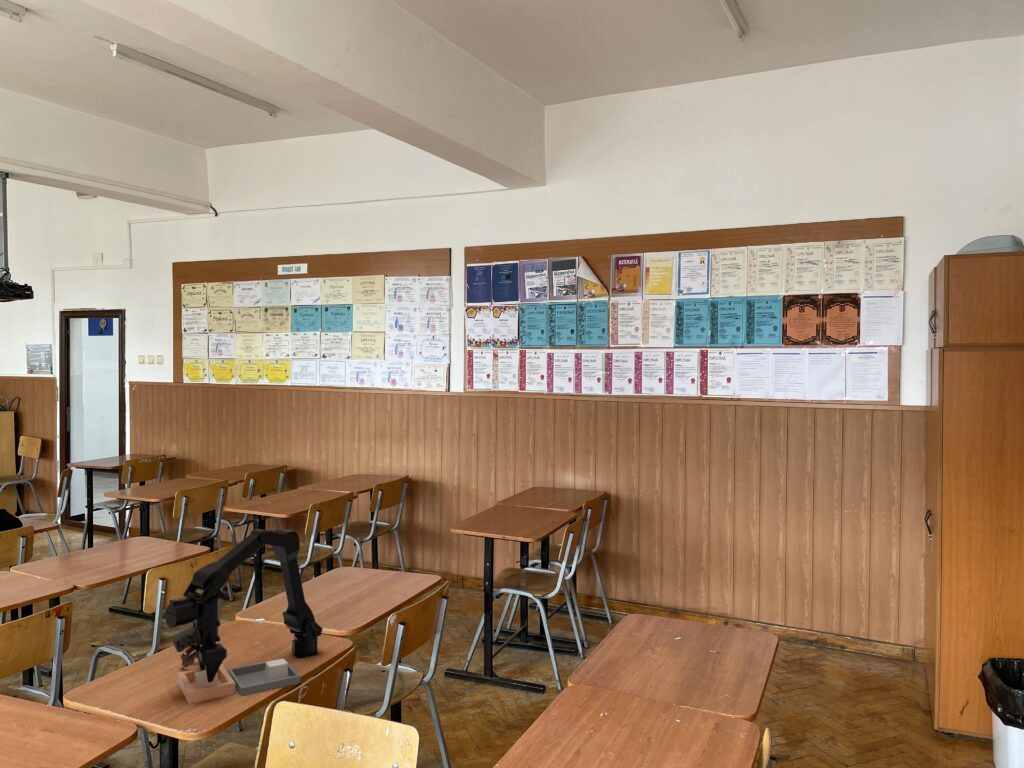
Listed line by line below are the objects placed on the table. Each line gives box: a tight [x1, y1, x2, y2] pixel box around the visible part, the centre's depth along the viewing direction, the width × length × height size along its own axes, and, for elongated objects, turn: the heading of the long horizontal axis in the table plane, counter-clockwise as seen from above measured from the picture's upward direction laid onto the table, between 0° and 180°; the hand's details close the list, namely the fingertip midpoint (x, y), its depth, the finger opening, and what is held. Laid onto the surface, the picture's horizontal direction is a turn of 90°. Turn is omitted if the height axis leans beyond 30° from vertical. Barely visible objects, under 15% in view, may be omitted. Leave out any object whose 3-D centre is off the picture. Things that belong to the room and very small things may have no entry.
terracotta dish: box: [177, 663, 236, 705], centre depth 201 cm, size 11×14×4 cm
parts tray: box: [227, 657, 301, 697], centre depth 207 cm, size 16×15×3 cm
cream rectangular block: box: [195, 671, 218, 689], centre depth 201 cm, size 5×4×4 cm
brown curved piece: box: [180, 642, 217, 667], centre depth 217 cm, size 12×10×8 cm
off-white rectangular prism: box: [264, 658, 289, 681], centre depth 209 cm, size 5×4×4 cm
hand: (206, 675), depth 201 cm, fingers open, 9 cm apart
